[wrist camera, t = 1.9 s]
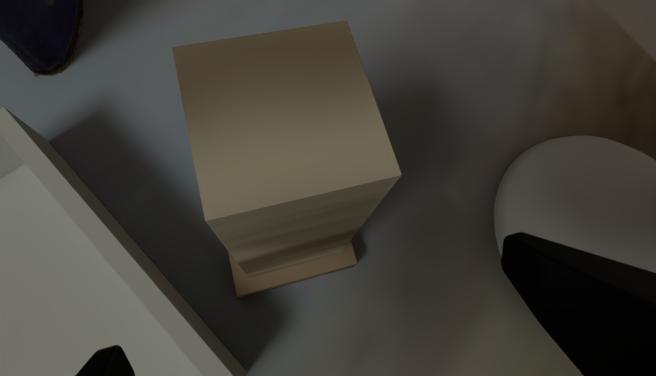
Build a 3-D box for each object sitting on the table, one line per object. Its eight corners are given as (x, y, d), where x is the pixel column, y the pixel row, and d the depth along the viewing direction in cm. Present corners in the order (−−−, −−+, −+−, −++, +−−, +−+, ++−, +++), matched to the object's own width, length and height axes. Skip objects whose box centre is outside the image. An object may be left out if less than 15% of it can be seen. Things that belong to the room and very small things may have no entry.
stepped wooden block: (354, 266, 21) (438, 195, 9) (239, 297, 19) (176, 260, 8) (323, 162, 22) (363, -4, 11) (216, 186, 21) (139, 29, 10)
